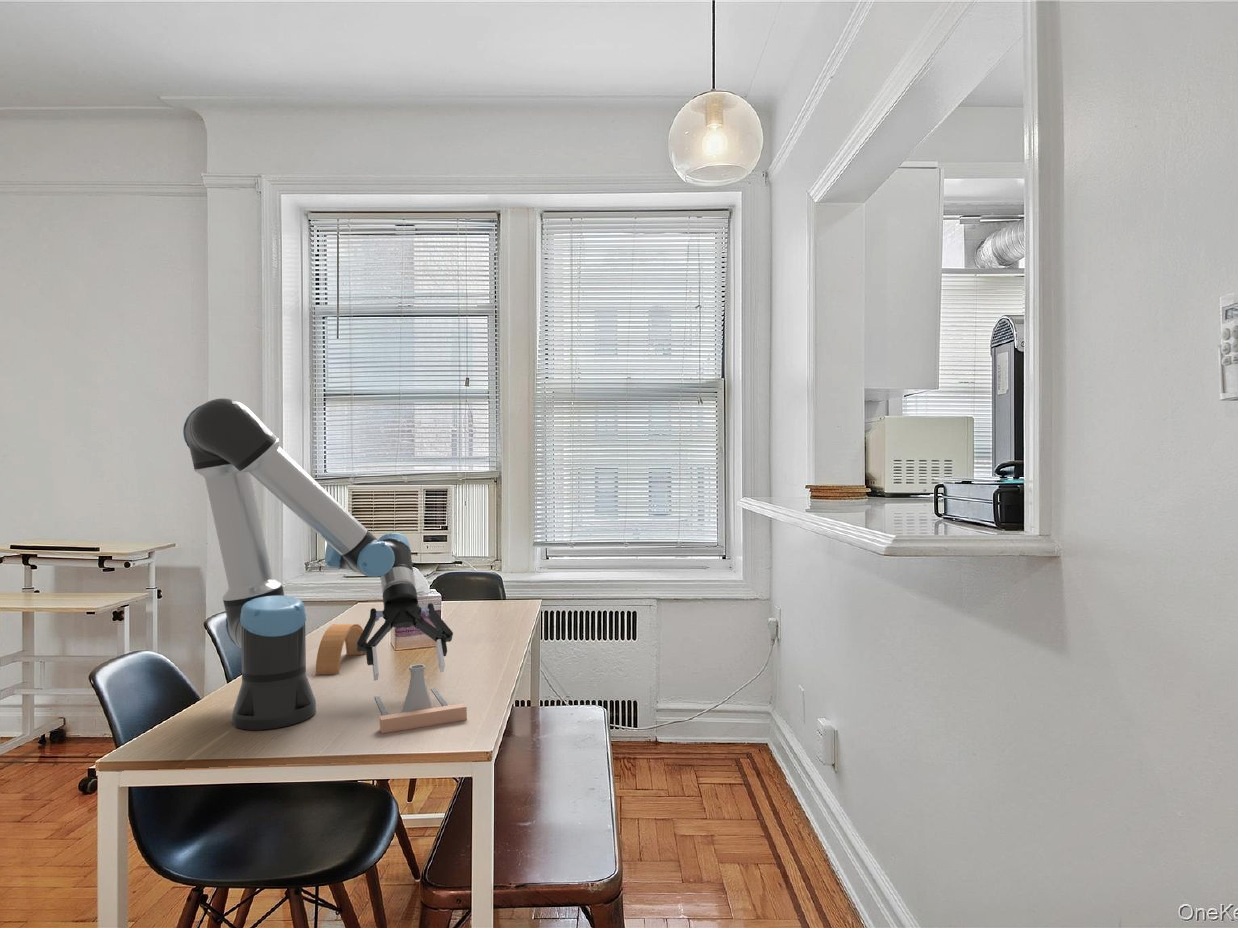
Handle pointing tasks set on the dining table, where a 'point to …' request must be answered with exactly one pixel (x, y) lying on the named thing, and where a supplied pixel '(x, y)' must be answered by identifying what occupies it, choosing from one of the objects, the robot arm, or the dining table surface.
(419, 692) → the flask
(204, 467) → the robot arm
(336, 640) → the arch
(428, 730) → the dining table surface
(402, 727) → the stop bar lane
